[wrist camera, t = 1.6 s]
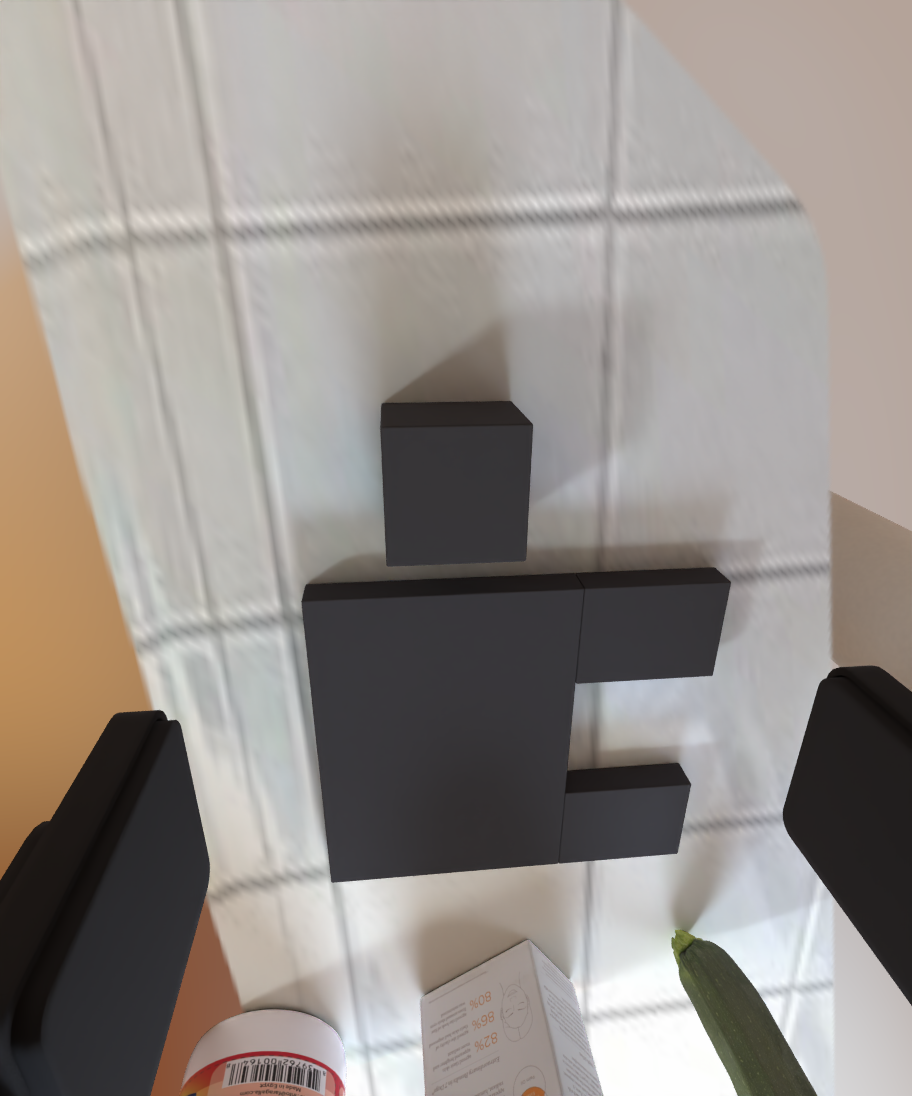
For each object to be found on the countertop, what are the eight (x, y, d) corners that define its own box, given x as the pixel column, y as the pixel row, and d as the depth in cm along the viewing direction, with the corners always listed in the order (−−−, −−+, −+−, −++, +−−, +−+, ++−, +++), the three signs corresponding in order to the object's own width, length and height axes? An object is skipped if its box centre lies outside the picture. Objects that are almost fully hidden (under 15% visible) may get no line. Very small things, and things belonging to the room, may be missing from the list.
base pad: (715, 566, 28) (731, 582, 27) (666, 831, 35) (677, 854, 33) (305, 583, 27) (300, 600, 25) (333, 858, 33) (331, 883, 32)
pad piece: (511, 400, 24) (533, 423, 21) (507, 521, 26) (526, 561, 23) (381, 402, 24) (380, 426, 20) (386, 525, 26) (386, 567, 22)
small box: (467, 1036, 40) (493, 1275, 31) (417, 994, 38) (427, 1237, 29) (575, 980, 39) (636, 1210, 30) (530, 934, 37) (580, 1167, 27)
